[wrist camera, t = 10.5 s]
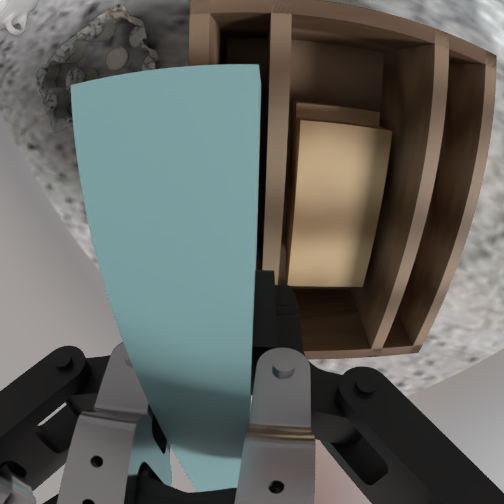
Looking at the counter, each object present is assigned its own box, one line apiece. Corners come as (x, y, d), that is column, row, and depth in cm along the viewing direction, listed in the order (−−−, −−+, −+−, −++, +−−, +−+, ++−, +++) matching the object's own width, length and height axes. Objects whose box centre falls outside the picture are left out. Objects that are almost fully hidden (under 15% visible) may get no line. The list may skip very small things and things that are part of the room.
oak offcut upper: (296, 116, 19) (300, 120, 17) (378, 126, 19) (392, 131, 17) (285, 267, 25) (287, 285, 23) (355, 269, 25) (362, 286, 23)
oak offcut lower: (292, 101, 21) (296, 102, 19) (368, 109, 21) (379, 112, 18) (284, 242, 27) (286, 257, 25) (349, 244, 27) (357, 259, 25)
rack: (216, 30, 19) (190, -2, 11) (428, 57, 19) (496, 55, 11) (219, 285, 31) (206, 356, 23) (387, 288, 31) (418, 352, 23)
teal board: (233, 85, 20) (70, 85, 2) (261, 85, 20) (258, 64, 2) (233, 252, 27) (199, 495, 10) (256, 253, 27) (246, 499, 10)
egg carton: (143, 8, 18) (124, -3, 14) (170, 78, 21) (154, 77, 18) (49, 66, 20) (23, 68, 16) (72, 130, 23) (48, 139, 20)
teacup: (-3, 2, 14) (-34, 0, 9) (44, -44, 12) (14, -54, 8) (15, 59, 19) (-20, 62, 14) (66, 10, 17) (32, 2, 12)
